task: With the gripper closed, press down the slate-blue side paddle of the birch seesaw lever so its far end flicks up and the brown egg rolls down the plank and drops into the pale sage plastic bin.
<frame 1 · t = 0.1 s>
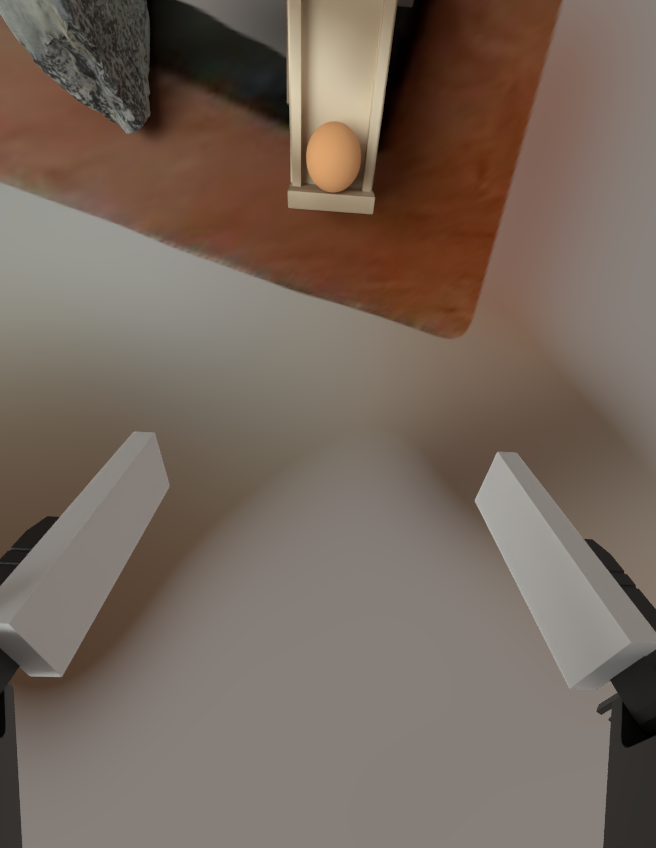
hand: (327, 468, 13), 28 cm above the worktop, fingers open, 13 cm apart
stone: (107, 28, 25), on the worktop
brown egg: (333, 158, 21), point 10 cm above the worktop, tilted 12°, touching lever
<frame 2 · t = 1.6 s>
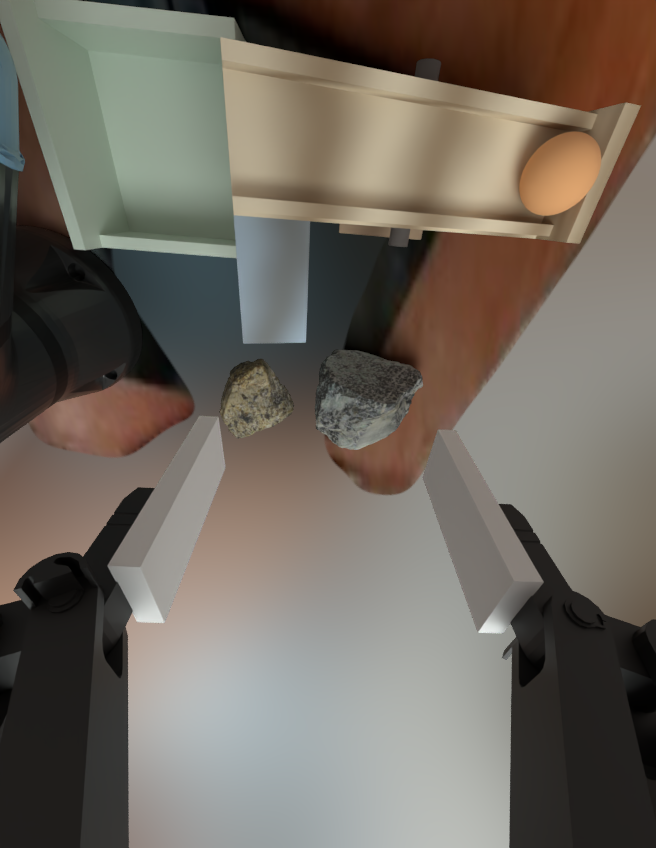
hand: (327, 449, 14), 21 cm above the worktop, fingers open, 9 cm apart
stone: (358, 379, 36), on the worktop
lever: (412, 227, 19), point 11 cm above the worktop, hinge at 14.0°, touching brown egg
rock: (261, 393, 37), on the worktop
brown egg: (557, 176, 17), point 10 cm above the worktop, tilted 12°, touching lever
fulcrum: (387, 178, 26), on the worktop
bin: (181, 158, 25), on the worktop
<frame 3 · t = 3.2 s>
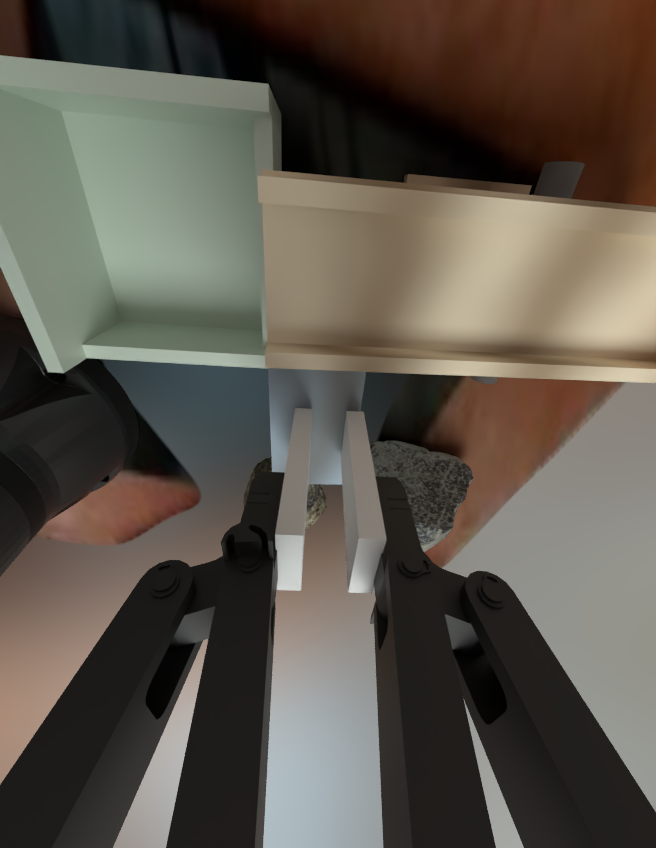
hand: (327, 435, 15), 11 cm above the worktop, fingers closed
stone: (392, 467, 31), on the worktop
lever: (510, 371, 13), point 11 cm above the worktop, hinge at 2.4°, touching brown egg, gripper
rock: (287, 486, 32), on the worktop
fulcrum: (445, 258, 21), on the worktop
bin: (186, 238, 20), on the worktop
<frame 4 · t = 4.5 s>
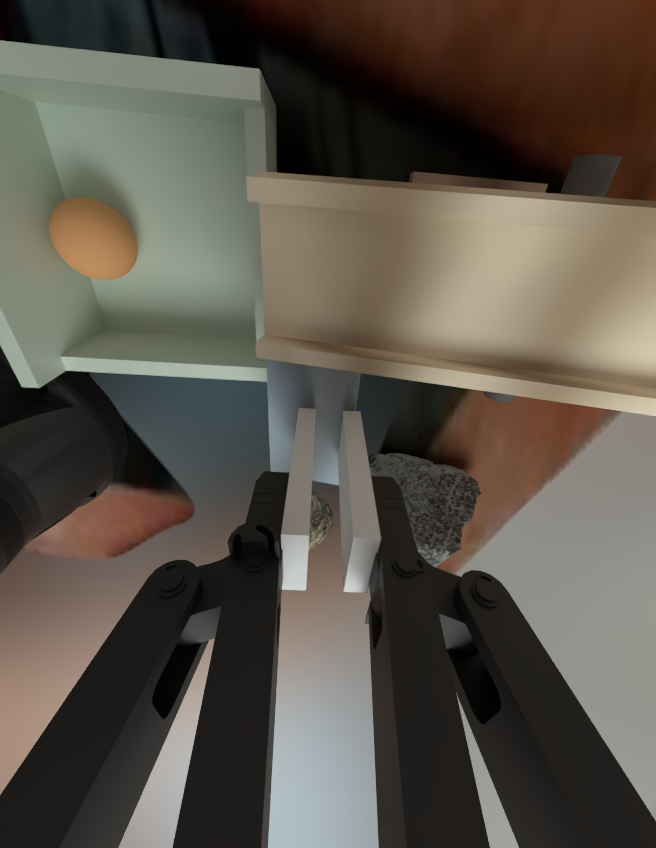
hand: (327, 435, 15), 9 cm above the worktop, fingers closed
stone: (395, 479, 29), on the worktop
lever: (519, 389, 12), point 11 cm above the worktop, hinge at -11.9°, touching gripper
rock: (293, 502, 31), on the worktop
brown egg: (96, 240, 16), point 2 cm above the worktop, tilted 170°, touching bin
fulcrum: (453, 263, 19), on the worktop
bin: (175, 241, 18), on the worktop
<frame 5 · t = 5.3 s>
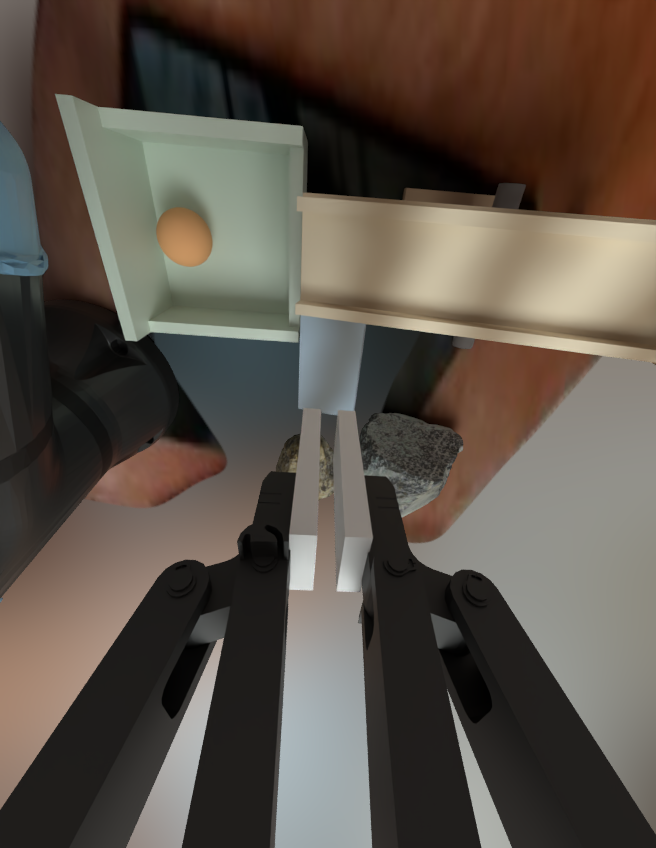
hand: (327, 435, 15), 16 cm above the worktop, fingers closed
stone: (394, 438, 35), on the worktop
lever: (471, 335, 18), point 11 cm above the worktop, hinge at -12.0°
rock: (312, 460, 37), on the worktop
brown egg: (185, 238, 22), point 2 cm above the worktop, tilted 172°, touching bin
fulcrum: (438, 255, 25), on the worktop
bin: (229, 238, 25), on the worktop
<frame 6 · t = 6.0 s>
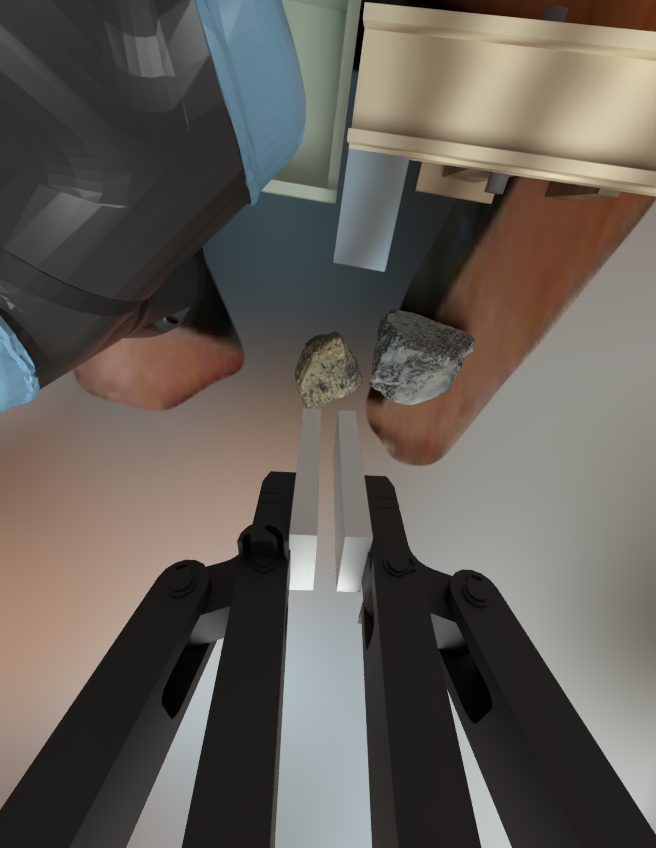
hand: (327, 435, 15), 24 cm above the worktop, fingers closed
stone: (407, 343, 37), on the worktop
lever: (506, 168, 20), point 11 cm above the worktop, hinge at -12.0°
rock: (330, 367, 39), on the worktop
fulcrum: (467, 139, 27), on the worktop
bin: (274, 102, 26), on the worktop
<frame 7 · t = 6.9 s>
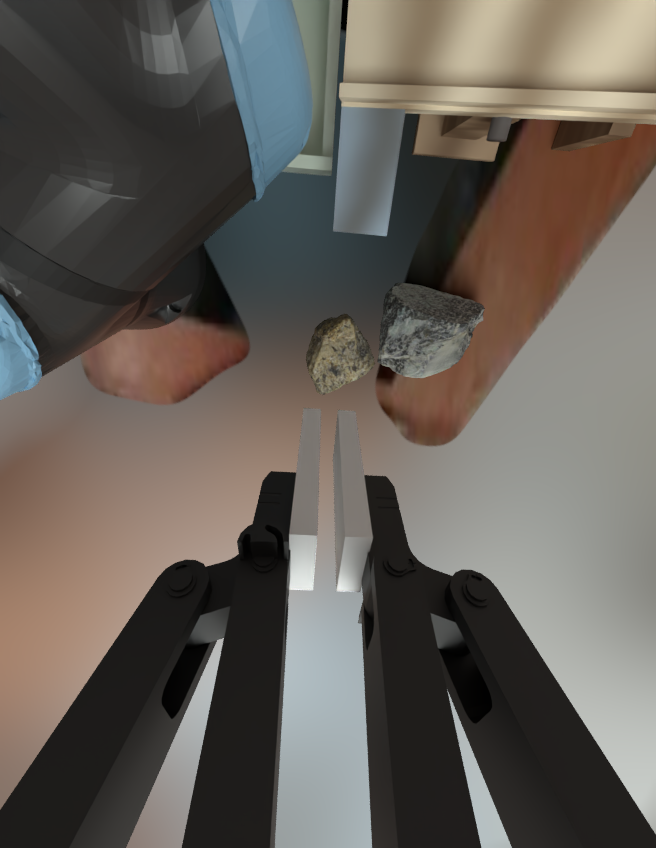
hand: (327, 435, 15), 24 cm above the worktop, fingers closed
stone: (415, 318, 36), on the worktop
lever: (509, 110, 19), point 11 cm above the worktop, hinge at -12.0°
rock: (340, 351, 38), on the worktop
fulcrum: (465, 94, 26), on the worktop
bin: (263, 73, 25), on the worktop
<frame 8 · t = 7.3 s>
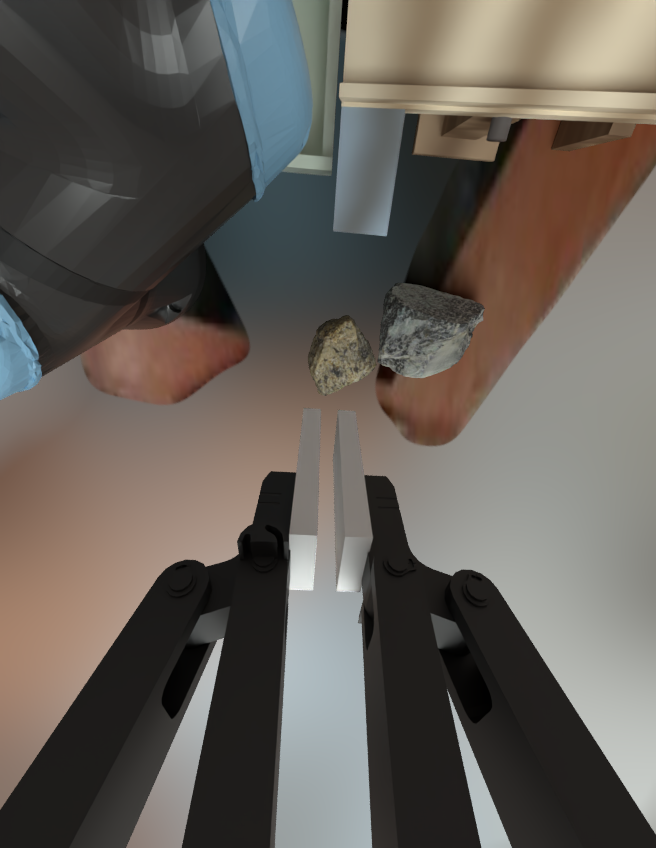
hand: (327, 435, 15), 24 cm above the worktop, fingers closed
stone: (415, 318, 36), on the worktop
lever: (509, 110, 19), point 11 cm above the worktop, hinge at -12.0°
rock: (342, 352, 39), on the worktop
fulcrum: (465, 94, 26), on the worktop
bin: (263, 73, 25), on the worktop
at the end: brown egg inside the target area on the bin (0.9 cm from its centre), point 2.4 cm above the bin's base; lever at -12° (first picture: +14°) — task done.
